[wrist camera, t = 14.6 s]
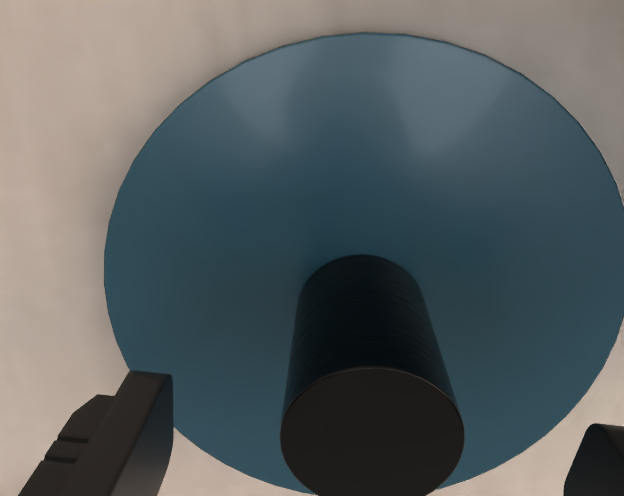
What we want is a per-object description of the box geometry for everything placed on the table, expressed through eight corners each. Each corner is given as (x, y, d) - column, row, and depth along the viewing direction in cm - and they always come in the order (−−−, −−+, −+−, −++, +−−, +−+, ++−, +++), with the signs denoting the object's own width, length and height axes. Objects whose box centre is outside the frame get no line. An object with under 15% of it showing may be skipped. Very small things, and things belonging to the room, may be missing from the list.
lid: (104, -1, 13) (-76, -18, 7) (695, 66, 13) (973, 101, 7) (127, 449, 19) (38, 632, 13) (532, 494, 19) (617, 696, 13)
